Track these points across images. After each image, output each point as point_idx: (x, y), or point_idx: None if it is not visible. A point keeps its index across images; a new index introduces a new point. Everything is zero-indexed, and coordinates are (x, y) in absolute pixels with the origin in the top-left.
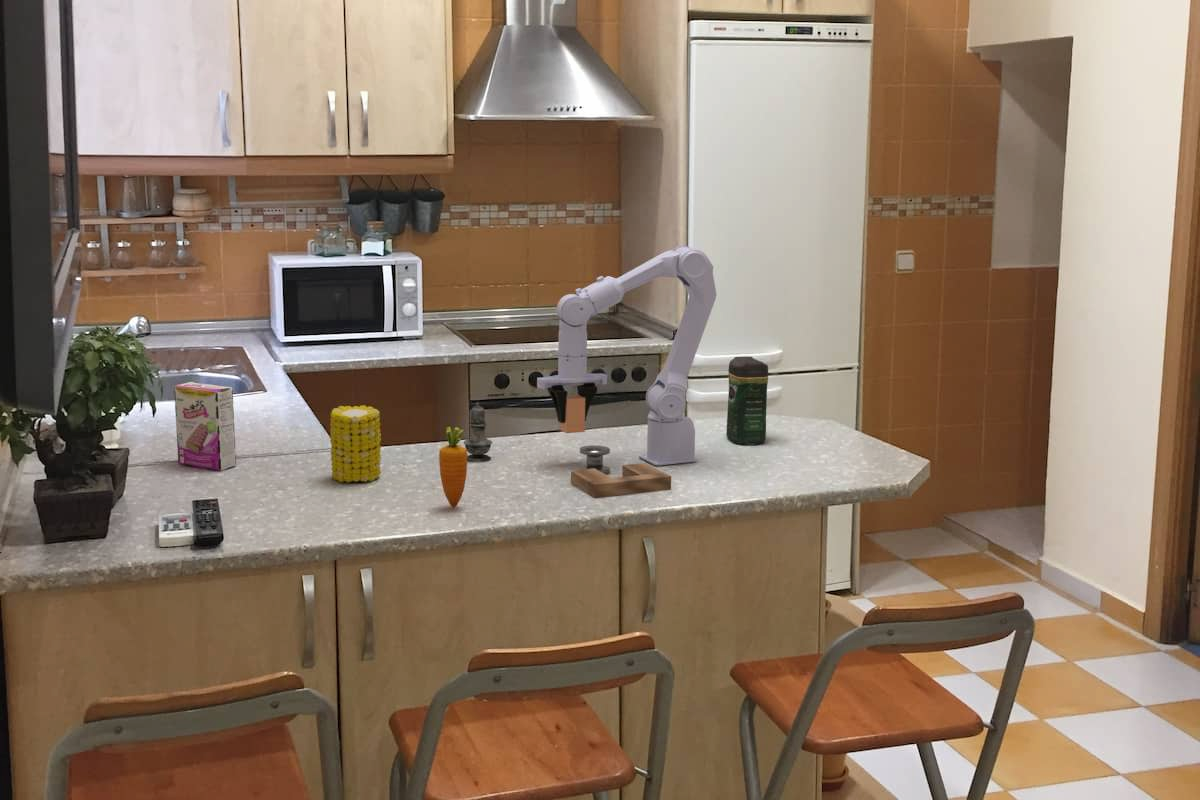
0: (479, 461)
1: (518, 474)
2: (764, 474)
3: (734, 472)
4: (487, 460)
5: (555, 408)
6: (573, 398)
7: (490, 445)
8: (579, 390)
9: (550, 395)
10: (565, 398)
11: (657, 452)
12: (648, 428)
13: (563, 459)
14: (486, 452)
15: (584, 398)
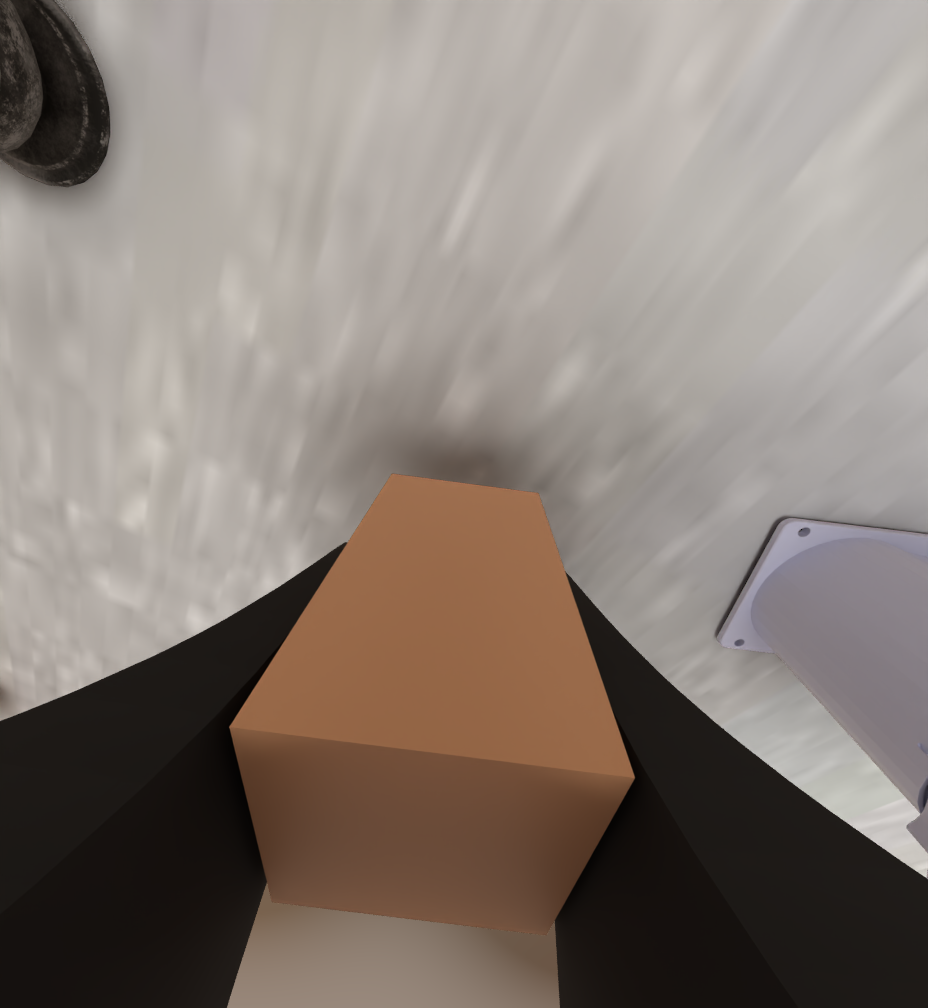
0: (37, 179)
1: (208, 497)
2: (874, 804)
3: (836, 766)
4: (85, 179)
5: (262, 602)
6: (376, 910)
7: (10, 93)
8: (665, 940)
9: (12, 732)
10: (239, 925)
11: (778, 654)
12: (890, 698)
13: (480, 368)
14: (30, 134)
15: (533, 922)
